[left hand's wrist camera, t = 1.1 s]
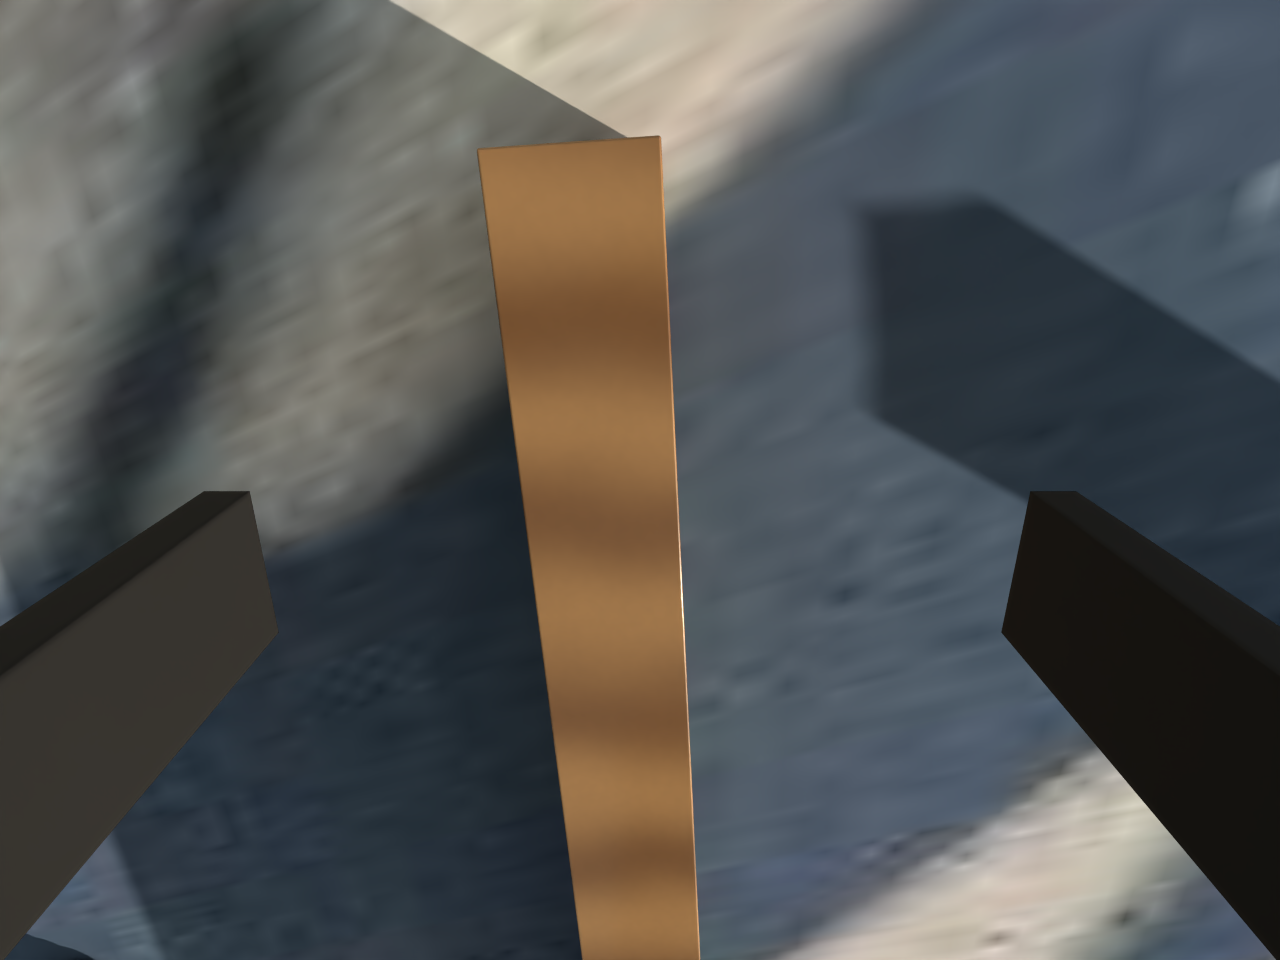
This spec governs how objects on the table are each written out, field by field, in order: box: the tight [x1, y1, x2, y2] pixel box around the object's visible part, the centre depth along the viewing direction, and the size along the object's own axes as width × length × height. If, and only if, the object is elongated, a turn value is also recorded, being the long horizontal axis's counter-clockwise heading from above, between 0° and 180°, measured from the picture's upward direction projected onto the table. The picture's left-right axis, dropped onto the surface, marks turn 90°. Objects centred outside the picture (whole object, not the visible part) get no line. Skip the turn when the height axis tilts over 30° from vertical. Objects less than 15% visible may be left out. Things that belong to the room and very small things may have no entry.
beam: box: [477, 136, 700, 960], centre depth 32 cm, size 60×5×8 cm, turn 4°
